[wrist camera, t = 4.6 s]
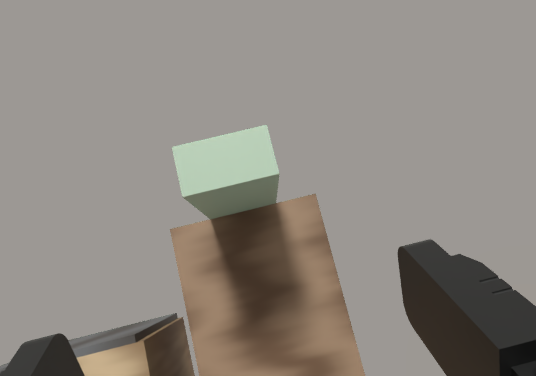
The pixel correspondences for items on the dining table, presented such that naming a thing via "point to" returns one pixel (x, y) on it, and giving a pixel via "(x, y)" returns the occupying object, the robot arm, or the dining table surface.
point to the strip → (228, 172)
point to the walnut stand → (265, 294)
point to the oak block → (136, 350)
